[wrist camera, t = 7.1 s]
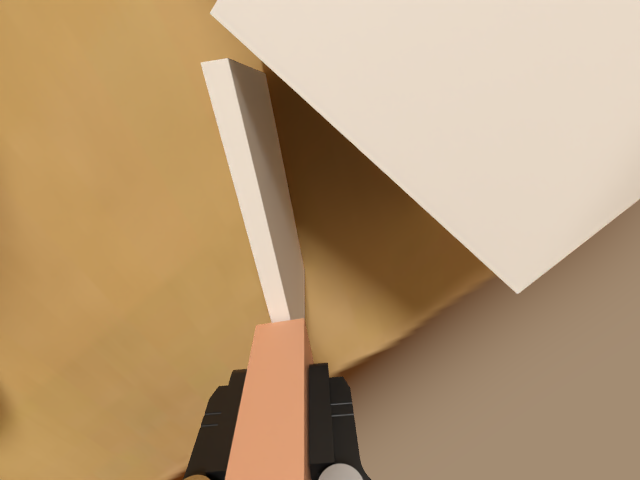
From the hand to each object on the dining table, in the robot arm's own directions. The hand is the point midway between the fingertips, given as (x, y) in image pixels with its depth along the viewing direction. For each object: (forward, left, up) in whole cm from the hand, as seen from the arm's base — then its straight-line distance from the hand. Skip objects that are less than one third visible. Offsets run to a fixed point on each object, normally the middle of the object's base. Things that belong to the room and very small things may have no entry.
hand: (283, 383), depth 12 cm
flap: (-3, -3, -12) cm, 13 cm away
